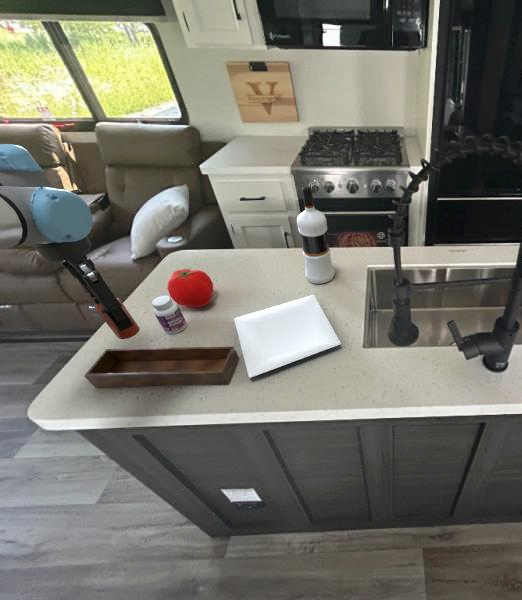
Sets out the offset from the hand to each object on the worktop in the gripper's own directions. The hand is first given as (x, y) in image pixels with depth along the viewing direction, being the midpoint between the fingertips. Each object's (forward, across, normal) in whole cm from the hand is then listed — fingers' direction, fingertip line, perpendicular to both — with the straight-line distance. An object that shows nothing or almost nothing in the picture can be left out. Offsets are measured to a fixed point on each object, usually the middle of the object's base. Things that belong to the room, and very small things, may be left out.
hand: (121, 322), depth 77 cm
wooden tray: (+9, -14, -1) cm, 16 cm away
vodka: (+9, -14, -49) cm, 52 cm away
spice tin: (+3, 0, 0) cm, 3 cm away
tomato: (+9, +6, -19) cm, 22 cm away
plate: (+9, -26, -25) cm, 37 cm away
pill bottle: (+9, 0, -9) cm, 13 cm away
